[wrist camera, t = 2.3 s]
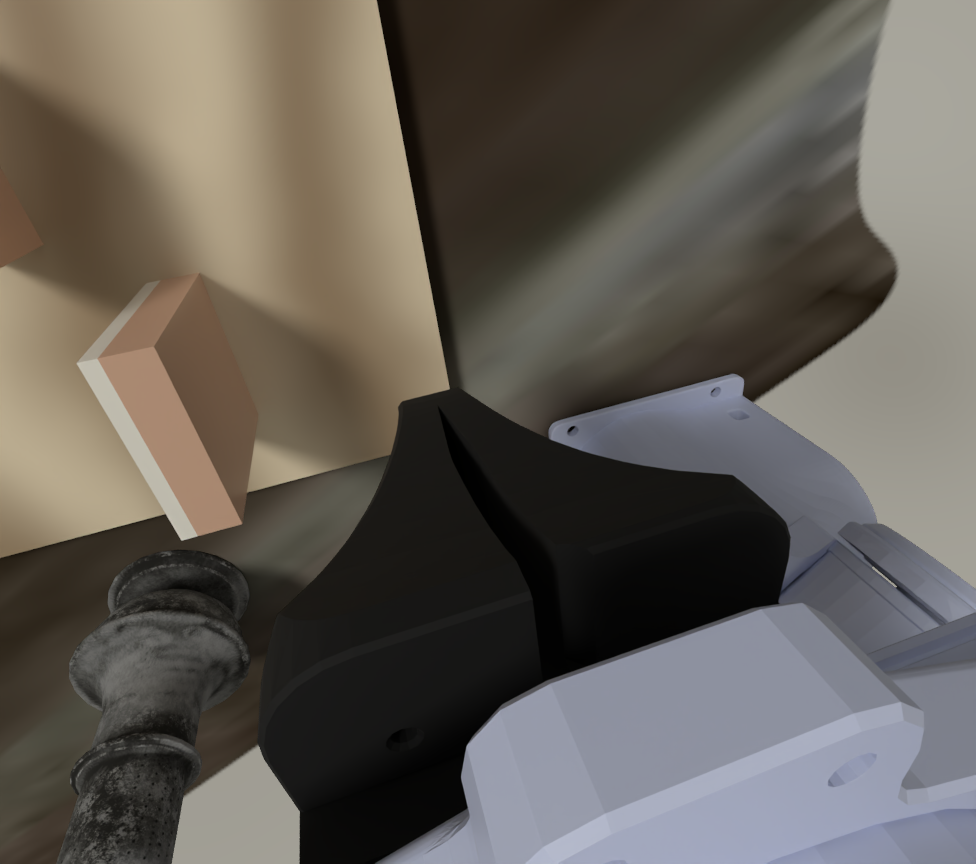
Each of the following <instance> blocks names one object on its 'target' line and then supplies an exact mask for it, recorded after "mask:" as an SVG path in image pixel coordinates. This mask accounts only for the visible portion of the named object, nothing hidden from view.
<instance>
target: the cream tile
mask: <svg viewBox="0 0 976 864" xmlns="http://www.w3.org/2000/svg"><path fill="white" fill-rule="evenodd" d="M77 365H78V367H79V368H80V370H81V372H82V374H83V375H84V377H85V379H86V380H87V382H88V384H89V385H90V387H91V389H92V390H93V392H94V394H95V395H96V397H97V399H98V401H99V402H100V404H101V406H102V407H103V409H104V411H105V412H106V414H107V416H108V417H109V419H110V421H111V422H112V424H113V426H114V428H115V429H116V431H117V433H118V434H119V436H120V438H121V439H122V441H123V443H124V444H125V446H126V448H127V449H128V451H129V453H130V455H131V456H132V458H133V460H134V461H135V463H136V465H137V466H138V468H139V470H140V471H141V473H142V475H143V476H144V478H145V480H146V481H147V483H148V485H149V487H150V488H151V490H152V492H153V493H154V495H155V497H156V498H157V500H158V502H159V503H160V505H161V507H162V508H163V510H164V512H165V514H166V515H167V517H168V519H169V520H170V522H171V524H172V525H173V527H174V529H175V530H176V532H177V534H178V535H179V537H180V539H181V541H182V540H185V539H189V538H193V537H196V536H200V535H204V534H207V533H211V532H215V531H218V530H222V529H226V528H229V527H233V526H237V525H240V524H242V523H243V516H244V509H245V503H246V496H247V489H248V483H249V476H250V469H251V462H252V456H253V449H254V442H255V436H256V429H257V422H258V415H259V414H258V412H257V410H256V407H255V405H254V402H253V400H252V398H251V395H250V393H249V390H248V388H247V386H246V383H245V381H244V378H243V376H242V374H241V371H240V369H239V366H238V364H237V362H236V359H235V357H234V354H233V352H232V350H231V347H230V345H229V342H228V340H227V338H226V335H225V333H224V330H223V328H222V326H221V323H220V321H219V318H218V316H217V314H216V311H215V309H214V306H213V304H212V301H211V299H210V297H209V294H208V292H207V289H206V287H205V285H204V282H203V280H202V277H201V275H200V273H195V274H190V275H185V276H180V277H175V278H170V279H165V280H159V281H154V282H149V283H146V284H145V285H144V286H143V288H142V289H141V290H140V291H139V292H138V293H137V294H136V296H135V297H134V298H133V299H132V300H131V301H130V302H129V304H128V305H127V306H126V307H125V308H124V309H123V310H122V312H121V313H120V314H119V315H118V316H117V317H116V318H115V320H114V321H113V322H112V323H111V324H110V325H109V326H108V328H107V329H106V330H105V331H104V332H103V333H102V334H101V336H100V337H99V338H98V339H97V340H96V341H95V342H94V344H93V345H92V346H91V347H90V348H89V349H88V350H87V352H86V353H85V354H84V355H83V356H82V357H81V358H80V360H79V361H78V362H77Z"/></svg>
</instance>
